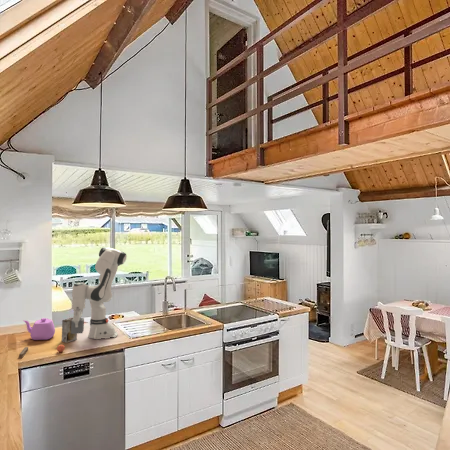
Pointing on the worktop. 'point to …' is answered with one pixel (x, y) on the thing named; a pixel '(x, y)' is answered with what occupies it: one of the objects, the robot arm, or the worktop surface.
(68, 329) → the coffee box
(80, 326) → the gray block
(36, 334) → the teapot
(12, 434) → the worktop surface
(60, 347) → the ball
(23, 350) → the bar
